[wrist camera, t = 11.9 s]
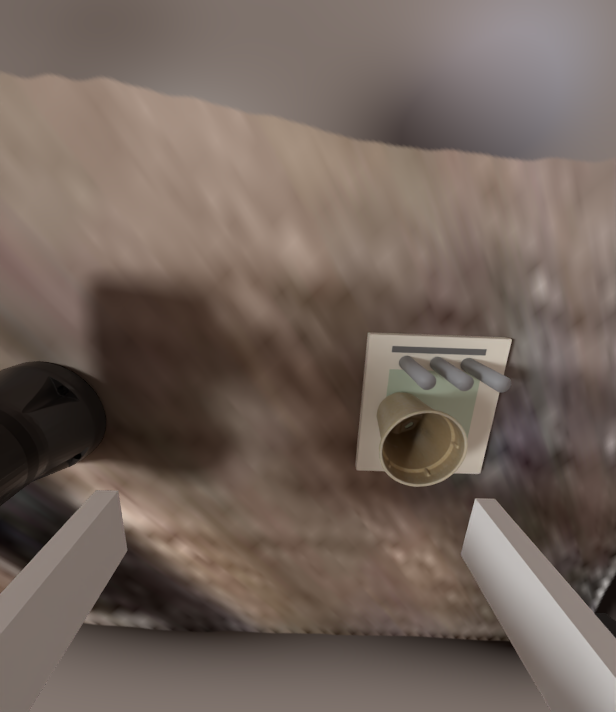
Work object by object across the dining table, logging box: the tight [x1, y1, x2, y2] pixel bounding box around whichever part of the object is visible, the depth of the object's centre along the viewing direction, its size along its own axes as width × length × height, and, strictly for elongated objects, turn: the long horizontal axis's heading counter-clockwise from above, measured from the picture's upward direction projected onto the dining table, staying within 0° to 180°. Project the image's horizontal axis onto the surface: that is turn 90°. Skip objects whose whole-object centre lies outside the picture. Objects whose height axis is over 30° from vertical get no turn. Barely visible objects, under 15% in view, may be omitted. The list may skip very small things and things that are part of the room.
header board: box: [355, 332, 512, 474], centre depth 36 cm, size 18×20×8 cm
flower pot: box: [377, 392, 468, 487], centre depth 35 cm, size 9×9×9 cm
